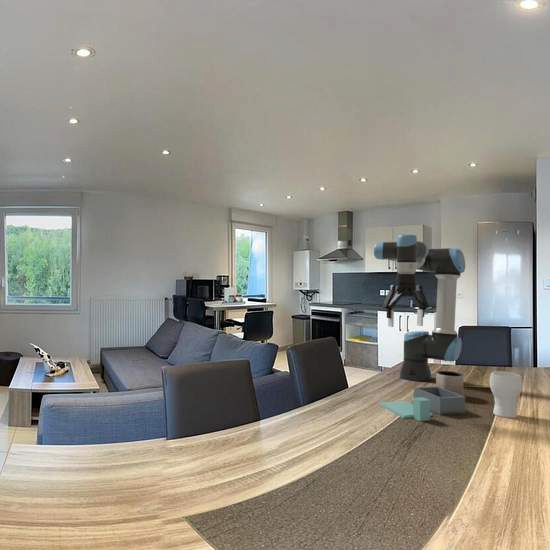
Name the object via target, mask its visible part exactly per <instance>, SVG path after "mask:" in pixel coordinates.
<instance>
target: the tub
mask: <svg viewBox="0 0 550 550" xmlns="http://www.w3.org/2000/svg"><path fill="white" fill-rule="evenodd" d="M419 397H424V398H426V399H428V400H430V412H431V413H432V412H433V413H435V414H437V415H438V416H444V415H445V416H446V415H456V414H457V415H458V414H465V413H466V396H465V395H463V396H462V395H459V394H457V393H454V392H451V391H449V390H446V389H443V388H441V387H438V386H436V385H435V386H434V385H433V386H422V387H420V386H419V387H417V386H416V387H413V398H419Z"/></svg>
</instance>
